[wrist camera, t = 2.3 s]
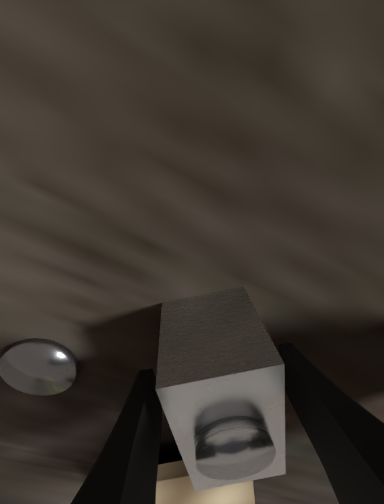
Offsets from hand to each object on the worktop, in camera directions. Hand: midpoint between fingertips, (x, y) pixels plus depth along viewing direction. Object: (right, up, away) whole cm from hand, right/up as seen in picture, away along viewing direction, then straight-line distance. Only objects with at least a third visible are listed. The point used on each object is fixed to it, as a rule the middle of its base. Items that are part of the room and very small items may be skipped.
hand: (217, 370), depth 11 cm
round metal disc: (-9, 0, +1) cm, 9 cm away
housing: (0, +1, +1) cm, 2 cm away
